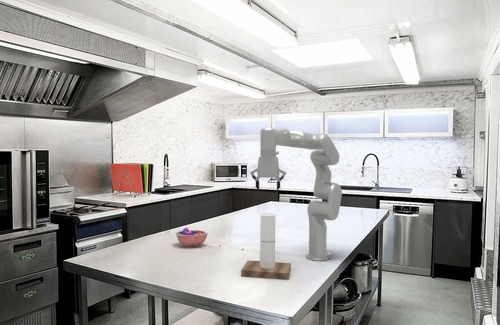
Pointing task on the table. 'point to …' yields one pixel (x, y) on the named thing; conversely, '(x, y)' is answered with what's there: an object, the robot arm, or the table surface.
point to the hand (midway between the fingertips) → (267, 189)
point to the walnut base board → (266, 270)
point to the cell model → (191, 237)
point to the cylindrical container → (267, 241)
